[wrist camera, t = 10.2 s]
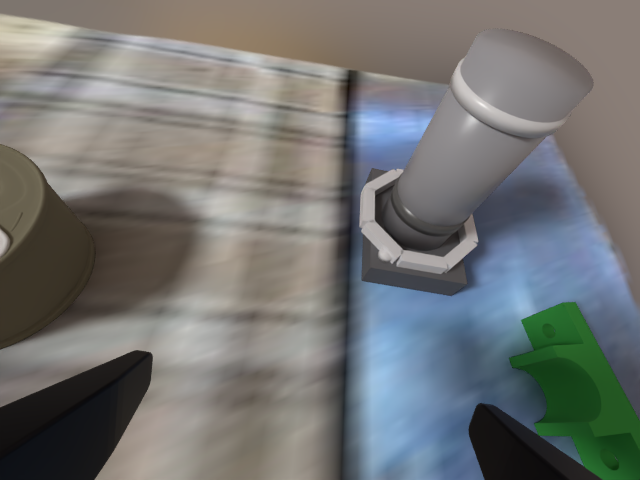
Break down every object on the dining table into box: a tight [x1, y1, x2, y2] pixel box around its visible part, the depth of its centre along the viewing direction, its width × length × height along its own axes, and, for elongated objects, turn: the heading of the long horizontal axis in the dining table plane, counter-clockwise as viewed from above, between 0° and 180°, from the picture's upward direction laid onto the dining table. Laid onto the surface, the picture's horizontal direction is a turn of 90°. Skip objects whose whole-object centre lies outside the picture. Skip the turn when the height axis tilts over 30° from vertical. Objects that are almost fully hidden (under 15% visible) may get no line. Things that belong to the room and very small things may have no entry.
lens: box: [382, 29, 593, 251], centre depth 21 cm, size 6×6×14 cm
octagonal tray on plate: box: [359, 168, 478, 296], centre depth 27 cm, size 11×10×4 cm
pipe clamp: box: [509, 302, 640, 480], centre depth 21 cm, size 11×4×5 cm, turn 5°
